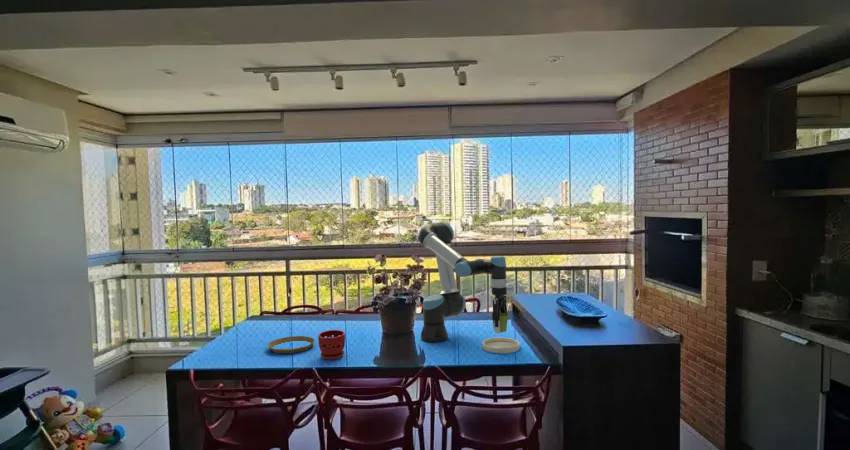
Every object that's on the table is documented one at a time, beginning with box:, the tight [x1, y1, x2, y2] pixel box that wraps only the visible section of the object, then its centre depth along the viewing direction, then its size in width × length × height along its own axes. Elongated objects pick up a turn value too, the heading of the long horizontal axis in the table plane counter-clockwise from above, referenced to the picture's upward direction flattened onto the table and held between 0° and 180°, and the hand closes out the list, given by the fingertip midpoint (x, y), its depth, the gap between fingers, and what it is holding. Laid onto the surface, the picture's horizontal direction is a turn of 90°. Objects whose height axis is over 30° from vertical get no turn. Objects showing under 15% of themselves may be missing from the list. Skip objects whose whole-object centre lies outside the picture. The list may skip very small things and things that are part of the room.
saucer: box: [481, 336, 521, 355], centre depth 226 cm, size 19×19×2 cm
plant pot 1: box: [317, 329, 346, 361], centre depth 220 cm, size 13×13×12 cm
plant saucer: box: [267, 335, 316, 354], centre depth 238 cm, size 24×24×3 cm
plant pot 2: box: [490, 312, 510, 334], centre depth 226 cm, size 9×9×9 cm
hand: (500, 330), depth 226 cm, fingers closed on plant pot 2, 8 cm apart
